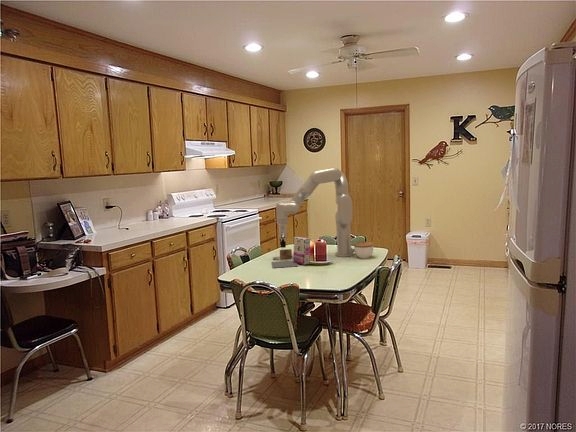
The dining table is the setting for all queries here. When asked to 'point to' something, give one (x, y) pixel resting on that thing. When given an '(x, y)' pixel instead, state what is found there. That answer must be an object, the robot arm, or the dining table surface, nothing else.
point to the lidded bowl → (363, 249)
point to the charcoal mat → (284, 264)
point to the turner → (284, 254)
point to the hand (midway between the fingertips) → (282, 246)
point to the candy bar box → (301, 250)
